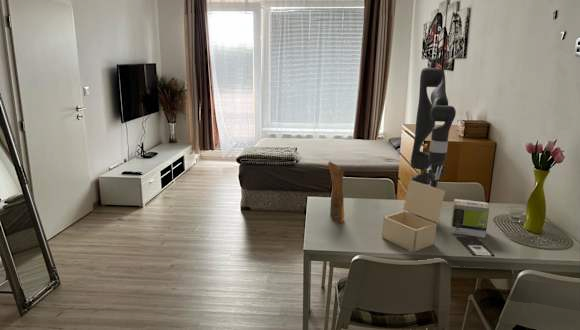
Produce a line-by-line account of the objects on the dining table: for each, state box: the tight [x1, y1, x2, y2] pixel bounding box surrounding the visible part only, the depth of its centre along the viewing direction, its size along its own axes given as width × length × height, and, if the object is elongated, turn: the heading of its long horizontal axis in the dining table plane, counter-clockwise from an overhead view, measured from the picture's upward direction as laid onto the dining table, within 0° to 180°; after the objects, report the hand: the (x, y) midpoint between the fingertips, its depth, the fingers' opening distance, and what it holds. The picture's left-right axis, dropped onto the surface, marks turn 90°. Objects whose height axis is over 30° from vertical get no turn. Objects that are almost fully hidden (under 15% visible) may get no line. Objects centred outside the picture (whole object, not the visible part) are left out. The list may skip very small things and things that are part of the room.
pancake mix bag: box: [327, 160, 345, 224], centre depth 214 cm, size 7×19×28 cm, turn 8°
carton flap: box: [402, 179, 446, 223], centre depth 193 cm, size 14×19×1 cm
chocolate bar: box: [456, 236, 495, 257], centre depth 189 cm, size 9×1×18 cm
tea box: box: [450, 198, 490, 239], centre depth 202 cm, size 15×10×15 cm, turn 71°
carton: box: [381, 210, 437, 253], centre depth 191 cm, size 14×18×10 cm
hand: (433, 187), depth 195 cm, fingers closed
